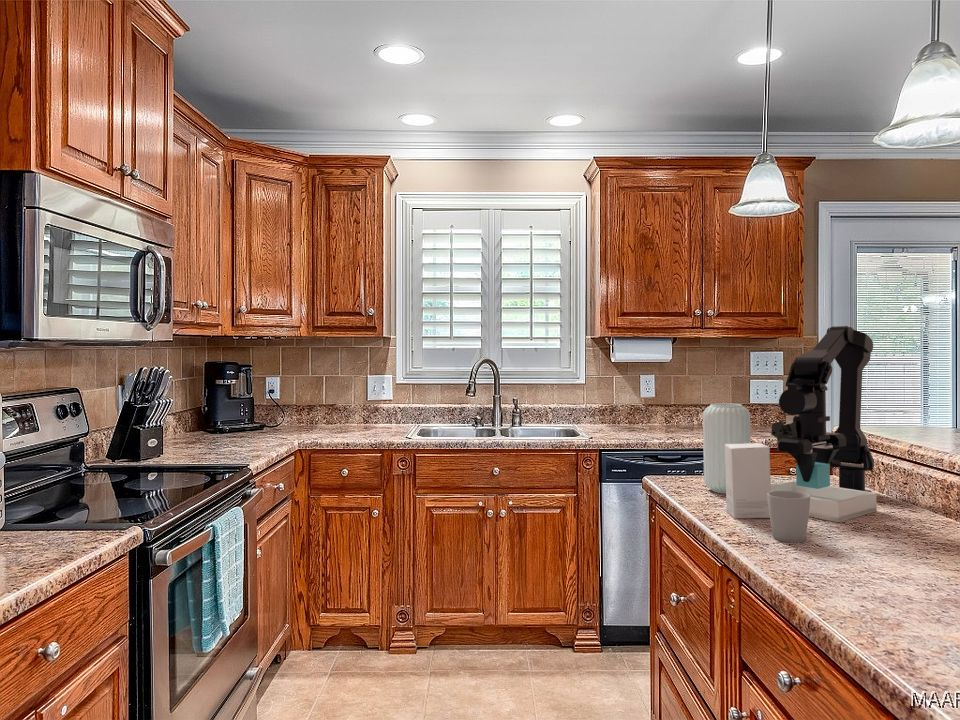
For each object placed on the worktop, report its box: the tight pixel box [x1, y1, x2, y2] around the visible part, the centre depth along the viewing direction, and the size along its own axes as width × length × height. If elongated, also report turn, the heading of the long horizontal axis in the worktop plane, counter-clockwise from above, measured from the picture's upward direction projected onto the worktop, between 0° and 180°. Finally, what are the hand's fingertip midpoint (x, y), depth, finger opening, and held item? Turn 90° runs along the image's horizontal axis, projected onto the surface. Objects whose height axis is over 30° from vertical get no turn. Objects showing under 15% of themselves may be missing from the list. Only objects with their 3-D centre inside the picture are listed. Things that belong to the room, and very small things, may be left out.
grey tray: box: [771, 479, 878, 523], centre depth 155 cm, size 16×20×4 cm
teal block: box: [795, 462, 831, 489], centre depth 155 cm, size 5×5×5 cm
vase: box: [702, 403, 752, 495], centre depth 176 cm, size 12×12×22 cm
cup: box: [767, 491, 810, 543], centre depth 132 cm, size 8×10×8 cm
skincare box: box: [725, 442, 772, 520], centre depth 150 cm, size 8×7×16 cm
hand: (812, 480), depth 155 cm, fingers closed on teal block, 5 cm apart
